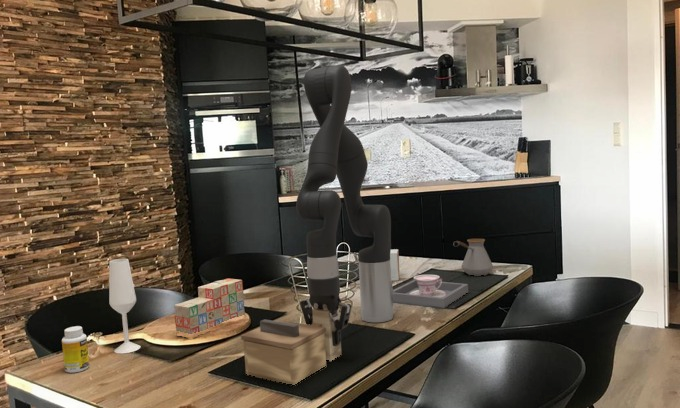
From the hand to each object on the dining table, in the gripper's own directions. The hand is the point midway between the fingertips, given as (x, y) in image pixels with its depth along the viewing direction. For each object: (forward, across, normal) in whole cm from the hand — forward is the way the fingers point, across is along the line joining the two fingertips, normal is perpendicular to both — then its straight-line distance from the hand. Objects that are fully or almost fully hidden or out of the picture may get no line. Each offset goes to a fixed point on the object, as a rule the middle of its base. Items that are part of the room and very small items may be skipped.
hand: (327, 343), depth 140 cm
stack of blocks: (+4, +46, -5) cm, 46 cm away
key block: (+3, 0, 0) cm, 3 cm away
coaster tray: (+4, +1, -58) cm, 58 cm away
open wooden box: (+4, +4, +11) cm, 12 cm away
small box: (+4, +25, -77) cm, 81 cm away
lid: (-5, +4, +10) cm, 12 cm away
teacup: (+3, +1, -58) cm, 58 cm away
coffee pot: (+4, -1, -90) cm, 90 cm away
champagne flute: (+4, +53, +18) cm, 56 cm away
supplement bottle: (+4, +52, +33) cm, 62 cm away
